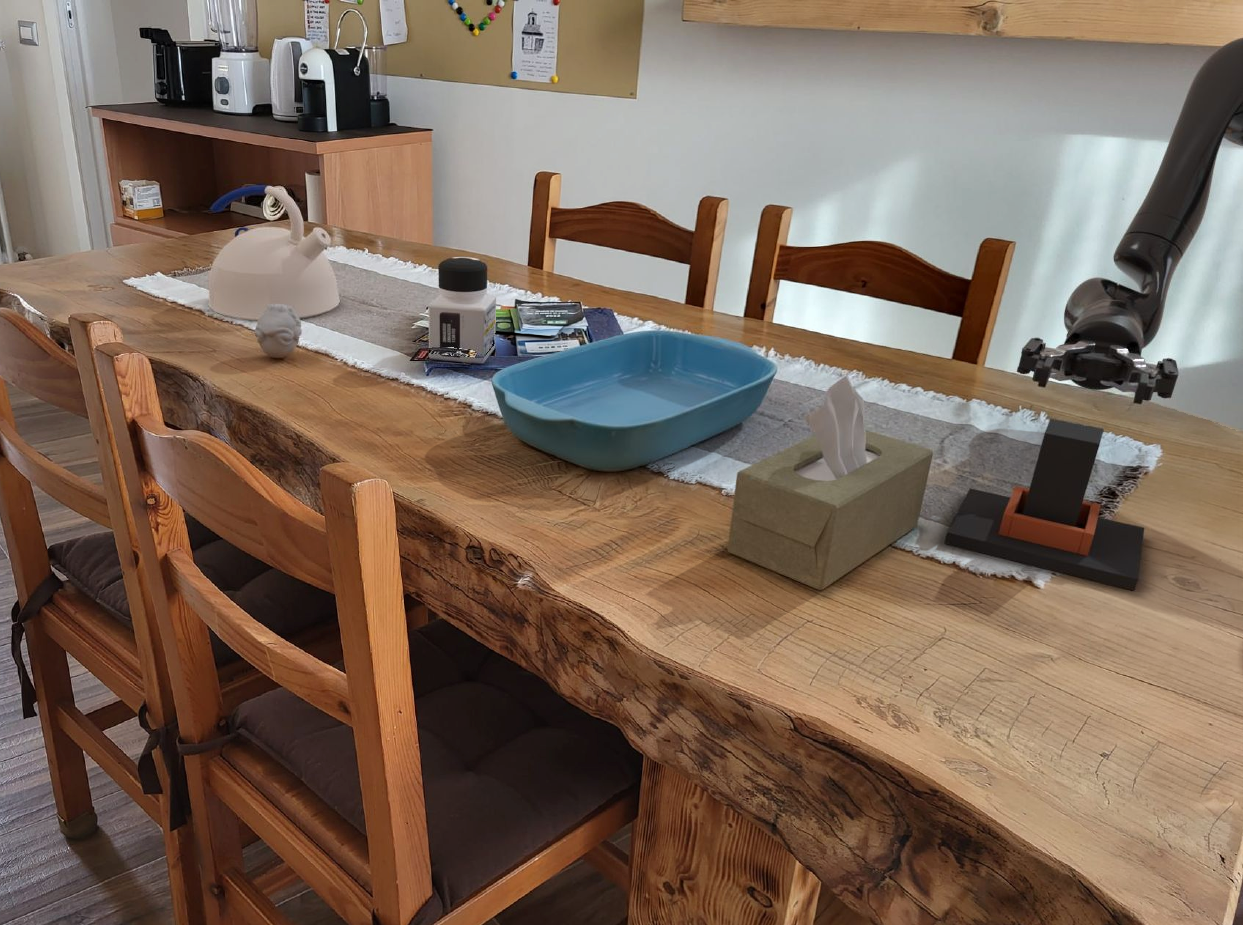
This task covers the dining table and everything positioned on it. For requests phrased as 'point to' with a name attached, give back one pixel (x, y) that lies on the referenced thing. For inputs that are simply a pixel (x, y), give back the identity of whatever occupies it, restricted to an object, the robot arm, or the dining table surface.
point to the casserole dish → (632, 396)
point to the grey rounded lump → (278, 330)
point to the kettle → (272, 266)
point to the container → (462, 310)
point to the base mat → (1049, 538)
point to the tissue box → (828, 496)
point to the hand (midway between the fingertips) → (1090, 385)
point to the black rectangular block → (1062, 472)
